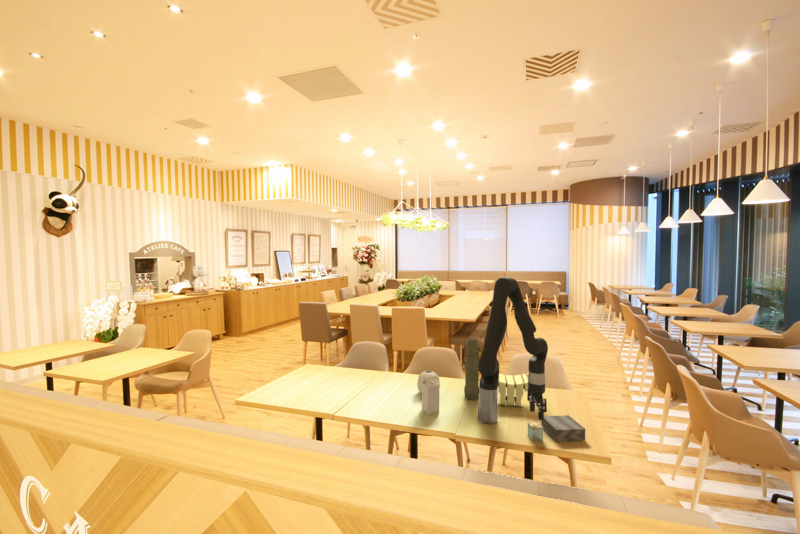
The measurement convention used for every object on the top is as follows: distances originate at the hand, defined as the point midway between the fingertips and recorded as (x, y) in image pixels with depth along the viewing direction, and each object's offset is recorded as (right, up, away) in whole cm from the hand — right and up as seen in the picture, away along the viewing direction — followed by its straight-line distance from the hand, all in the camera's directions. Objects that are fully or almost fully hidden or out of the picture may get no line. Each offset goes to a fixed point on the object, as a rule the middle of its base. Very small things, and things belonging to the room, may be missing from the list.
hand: (536, 415), depth 170 cm
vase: (-46, -9, +55) cm, 72 cm away
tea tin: (-1, -11, 0) cm, 11 cm away
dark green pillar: (-21, -9, +49) cm, 54 cm away
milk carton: (-47, -10, +29) cm, 56 cm away
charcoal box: (+14, -11, +5) cm, 19 cm away
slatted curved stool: (0, -9, +42) cm, 43 cm away
